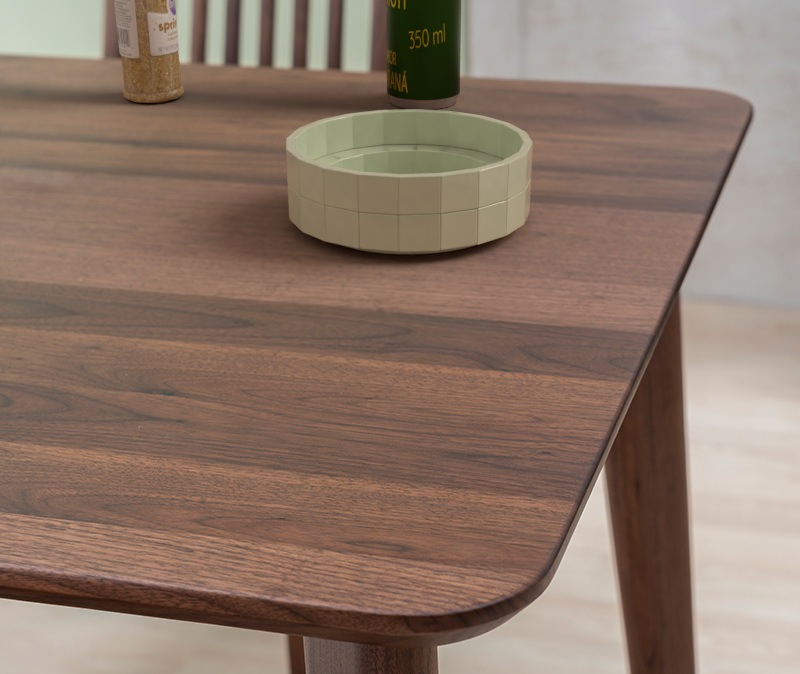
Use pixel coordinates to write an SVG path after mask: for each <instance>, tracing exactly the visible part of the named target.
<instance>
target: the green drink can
mask: <svg viewBox="0 0 800 674" xmlns="http://www.w3.org/2000/svg"><path fill="white" fill-rule="evenodd" d="M385 32H386V37H385V38H386V39H385V40H386V41H385V42H386V43H385V44H386V94H387V96H388V99H389V101H390V103H391V104H392V105H393V106H395V107H398V108H402V109H424V110H441V109H446V108H448V107H452V106H453V105H455V104H456V102H457V100H458V98H459V96H460V94H461V51H462V50H461V49H462V45H461V43H462V0H385Z"/></svg>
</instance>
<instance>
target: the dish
mask: <svg viewBox="0 0 800 674" xmlns="http://www.w3.org/2000/svg"><path fill="white" fill-rule="evenodd" d="M533 144H534V143H533V141H532V139H531V137H530V136H529V134H528V132H526V131H525V130H523V129H522V128H521V127H518V126H516V125H515V124H512V123H510V122H507V121H504V120H502V119H501V120H500V119H496V118H493V117H490V116H486V115H482V114H475V113H468V112H463V111H462V112H460V111H453V110H443V109H442V110H441V109H430V110H424V109H406V108H402V109H377V110H369V111H368V110H367V111H359V112H350V113H344V114H340V115H335V116H330V117H325V118H320V119H318V120H316V121H313V122H310V123H308V124H305V125H302V126H300V127H298V128H297V129H294V131H293V132H292V133H291V134H290V135H288V136H287V137H286V138H285V158H286V181H287V198H288V199H287V201H288V203H287V204H288V218H289V221H290V222H291V223H292V224H293V225H294V226H296V227H297V229H298V230H300V232H302V233H304V234H306V235H308V236H311V237H314V238H316V239H318V240H321V241H322V242H324V243H325V242H326V243H331V244H335V245H338V246H342V247H346V248H348V249H354V250H357V251H362V252H363V251H364V252H368V253H376V254H387V255H389V254H390V255H429V254H441V253H447V252H454V251H459V250H464V249H467V248H471V247H474V246H478V245H482V244H485V243H488V242H491V241H495V240H498V239H501V238H504V237H507V236H509V235H510V234H512V233H513V232H515V231H516V230H517V229H519V228H521V227H523V226H524V225H525V224H526V221H527V219H528V216H529V215H530V213H531V192H532V169H533V148H534V147H533V146H534V145H533Z"/></svg>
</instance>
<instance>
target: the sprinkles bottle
mask: <svg viewBox="0 0 800 674" xmlns="http://www.w3.org/2000/svg"><path fill="white" fill-rule="evenodd" d="M113 5H114V6H113V7H114V16H115V23H116V33H117V42H118V44H117V45H118V53H119V55H120V59H121V66H122V79H123V84H124V85H123V89H122V95H123V97H124V98H125V99H126V100H128V101H130V102H134V103H139V104H161V103H165V102H170V101H173V100H176V99H178V98H180V97H182V96H183V95H184V93H185V89H184V86H183V84H182V74H181V63H180V52H179V51H180V43H179V32H178V22H177V21H178V20H177V19H178V18H177V9H176V0H113Z"/></svg>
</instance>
